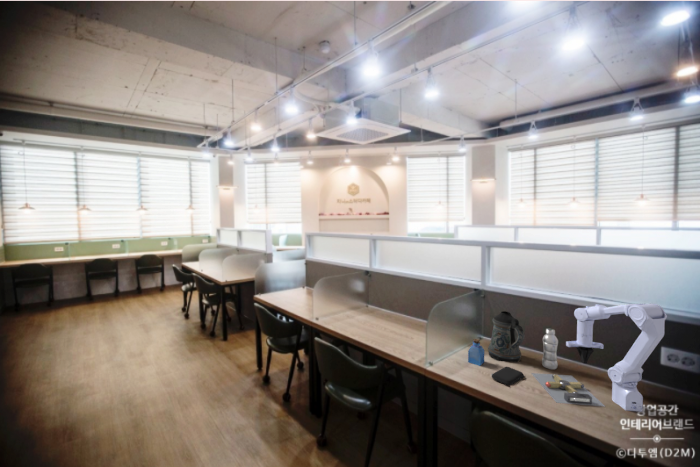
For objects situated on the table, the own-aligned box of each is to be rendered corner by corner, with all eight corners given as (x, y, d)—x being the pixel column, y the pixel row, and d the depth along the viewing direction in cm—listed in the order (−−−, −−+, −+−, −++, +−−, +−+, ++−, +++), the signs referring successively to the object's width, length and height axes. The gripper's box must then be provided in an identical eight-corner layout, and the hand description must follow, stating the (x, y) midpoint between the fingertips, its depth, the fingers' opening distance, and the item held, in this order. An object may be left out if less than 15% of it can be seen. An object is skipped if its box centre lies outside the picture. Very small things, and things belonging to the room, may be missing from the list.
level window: (593, 405, 121) (593, 398, 121) (568, 403, 122) (568, 397, 122) (588, 400, 124) (588, 394, 124) (564, 398, 126) (564, 392, 125)
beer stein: (494, 347, 178) (494, 306, 177) (531, 358, 164) (531, 313, 163) (483, 356, 167) (483, 312, 165) (521, 368, 153) (522, 320, 152)
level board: (605, 408, 120) (605, 406, 120) (556, 404, 123) (556, 402, 123) (571, 377, 144) (571, 375, 144) (530, 374, 147) (530, 373, 147)
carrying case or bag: (512, 389, 135) (528, 379, 143) (512, 383, 135) (528, 373, 143) (489, 379, 144) (505, 370, 152) (489, 373, 143) (505, 364, 152)
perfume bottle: (484, 361, 161) (484, 339, 160) (480, 366, 156) (480, 343, 156) (472, 358, 165) (472, 336, 164) (468, 362, 160) (468, 340, 160)
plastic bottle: (543, 363, 158) (544, 326, 157) (558, 368, 153) (559, 329, 152) (540, 368, 153) (540, 329, 152) (556, 372, 148) (556, 333, 147)
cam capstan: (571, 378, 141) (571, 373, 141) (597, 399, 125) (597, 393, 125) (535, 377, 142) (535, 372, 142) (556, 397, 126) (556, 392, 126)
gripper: (596, 331, 141) (595, 359, 142) (562, 329, 144) (562, 357, 144) (606, 337, 134) (606, 366, 135) (571, 335, 137) (570, 364, 137)
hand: (584, 362), depth 139 cm, fingers closed
